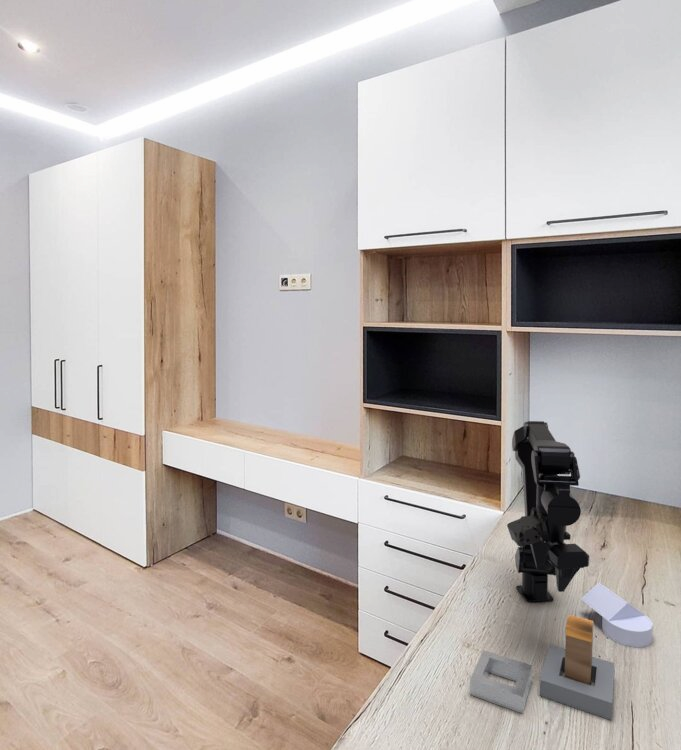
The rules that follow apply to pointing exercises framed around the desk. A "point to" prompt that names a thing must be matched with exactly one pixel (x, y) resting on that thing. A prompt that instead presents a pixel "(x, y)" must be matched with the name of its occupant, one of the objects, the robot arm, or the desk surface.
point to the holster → (499, 691)
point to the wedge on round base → (619, 617)
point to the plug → (578, 649)
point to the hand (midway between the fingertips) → (549, 579)
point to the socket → (578, 684)
